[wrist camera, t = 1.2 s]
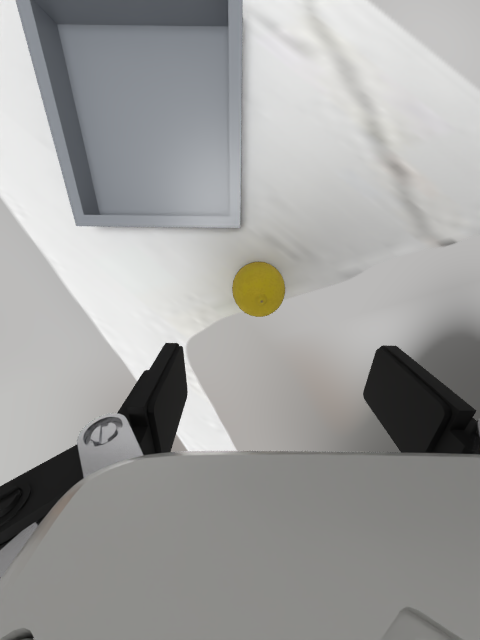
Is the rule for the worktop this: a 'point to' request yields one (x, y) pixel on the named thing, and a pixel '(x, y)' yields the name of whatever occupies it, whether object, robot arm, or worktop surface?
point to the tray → (143, 107)
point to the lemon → (258, 289)
